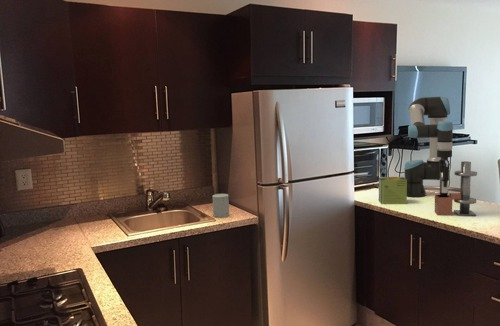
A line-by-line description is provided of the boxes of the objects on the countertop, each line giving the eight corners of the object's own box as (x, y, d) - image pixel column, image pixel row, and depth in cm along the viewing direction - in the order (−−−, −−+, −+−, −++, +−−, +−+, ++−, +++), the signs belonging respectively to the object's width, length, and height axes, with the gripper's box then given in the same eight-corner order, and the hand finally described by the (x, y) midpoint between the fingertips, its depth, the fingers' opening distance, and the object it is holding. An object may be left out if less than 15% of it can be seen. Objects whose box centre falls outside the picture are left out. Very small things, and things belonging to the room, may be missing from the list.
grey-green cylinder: (216, 218, 246) (215, 197, 244) (211, 215, 254) (210, 194, 253) (231, 216, 249) (230, 195, 248) (226, 212, 258) (225, 193, 256)
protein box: (407, 204, 262) (407, 179, 260) (381, 204, 264) (381, 179, 262) (403, 200, 272) (403, 176, 270) (378, 200, 274) (378, 176, 272)
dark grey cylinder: (438, 196, 238) (439, 171, 236) (446, 196, 237) (447, 171, 235) (440, 197, 234) (440, 172, 232) (448, 197, 233) (448, 172, 231)
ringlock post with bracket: (433, 211, 243) (434, 160, 239) (472, 211, 239) (474, 160, 235) (438, 216, 232) (439, 163, 229) (478, 216, 228) (480, 163, 224)
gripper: (433, 148, 241) (433, 188, 244) (440, 151, 225) (439, 195, 228) (448, 148, 240) (447, 188, 243) (456, 151, 223) (454, 195, 226)
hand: (443, 191), depth 235 cm, fingers closed on dark grey cylinder, 4 cm apart
